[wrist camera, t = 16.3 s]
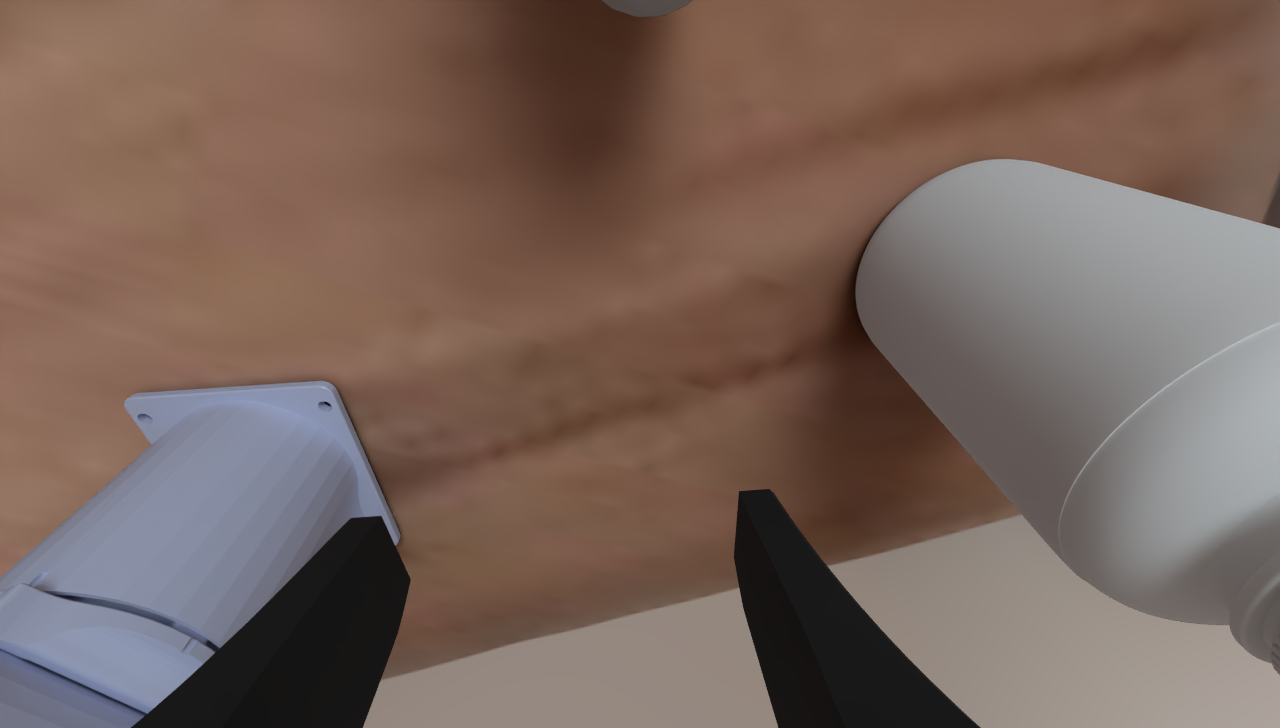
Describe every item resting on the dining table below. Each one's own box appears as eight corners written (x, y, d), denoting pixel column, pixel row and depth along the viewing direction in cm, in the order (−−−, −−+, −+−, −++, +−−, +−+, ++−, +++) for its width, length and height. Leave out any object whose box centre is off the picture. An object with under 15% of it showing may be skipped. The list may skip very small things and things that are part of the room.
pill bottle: (962, 104, 16) (2233, 317, 4) (1111, 225, 19) (2184, 610, 6) (803, 304, 20) (1159, 776, 7) (946, 385, 22) (1403, 843, 9)
